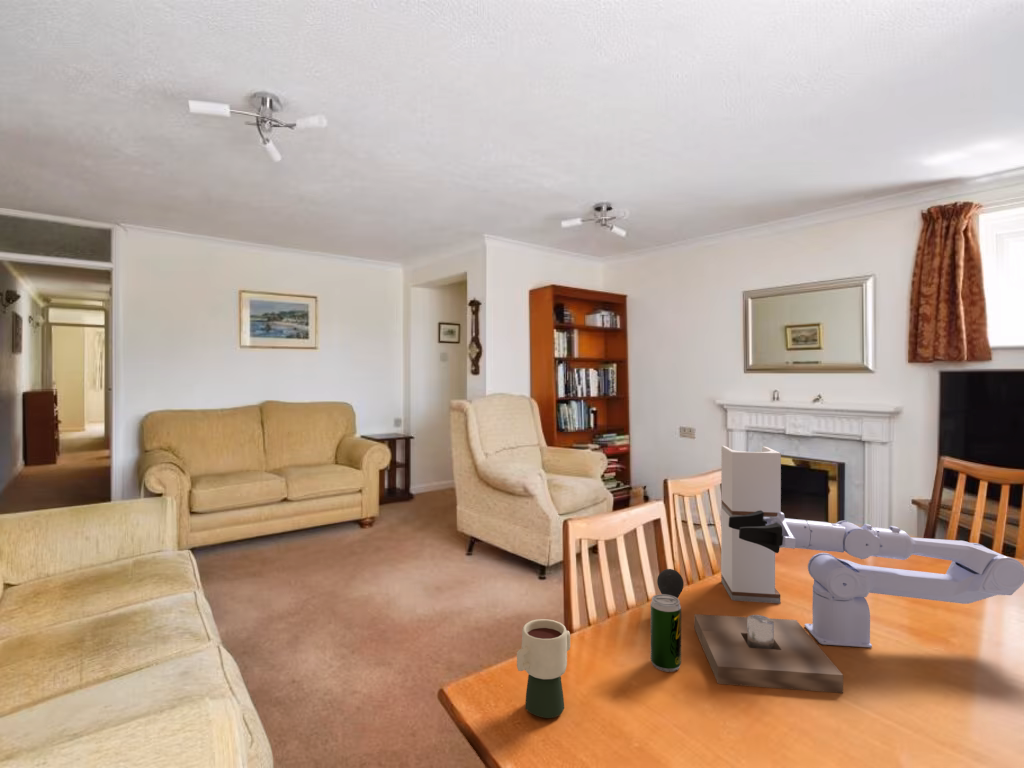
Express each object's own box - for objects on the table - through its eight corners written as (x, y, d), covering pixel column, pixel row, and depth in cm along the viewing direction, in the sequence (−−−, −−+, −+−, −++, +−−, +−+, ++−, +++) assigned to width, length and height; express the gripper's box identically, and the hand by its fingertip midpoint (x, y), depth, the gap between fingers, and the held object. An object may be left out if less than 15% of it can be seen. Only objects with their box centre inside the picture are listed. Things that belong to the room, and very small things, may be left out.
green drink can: (649, 670, 95) (649, 604, 95) (651, 654, 100) (651, 592, 100) (681, 675, 94) (681, 607, 93) (681, 659, 99) (681, 595, 98)
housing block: (796, 634, 108) (796, 619, 108) (843, 692, 88) (843, 675, 88) (694, 628, 111) (694, 614, 111) (717, 683, 91) (717, 666, 91)
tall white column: (780, 603, 122) (780, 453, 122) (732, 600, 124) (732, 452, 124) (765, 584, 134) (765, 446, 133) (721, 581, 136) (721, 445, 135)
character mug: (555, 686, 90) (554, 611, 90) (585, 707, 85) (584, 627, 84) (503, 711, 84) (503, 630, 83) (532, 736, 78) (532, 649, 78)
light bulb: (685, 621, 114) (685, 575, 114) (658, 619, 115) (658, 573, 115) (682, 609, 119) (682, 566, 119) (656, 607, 120) (656, 564, 120)
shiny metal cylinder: (768, 651, 101) (769, 615, 101) (777, 664, 97) (777, 626, 97) (744, 650, 102) (744, 614, 102) (751, 662, 97) (751, 625, 97)
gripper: (791, 505, 114) (726, 499, 116) (821, 525, 100) (746, 518, 102) (789, 537, 115) (723, 531, 116) (818, 562, 100) (743, 554, 102)
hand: (734, 527), depth 109 cm, fingers open, 7 cm apart
